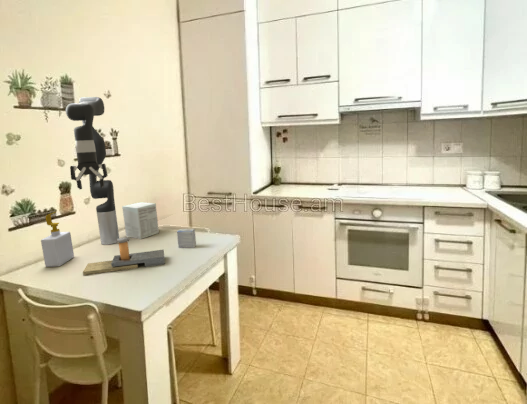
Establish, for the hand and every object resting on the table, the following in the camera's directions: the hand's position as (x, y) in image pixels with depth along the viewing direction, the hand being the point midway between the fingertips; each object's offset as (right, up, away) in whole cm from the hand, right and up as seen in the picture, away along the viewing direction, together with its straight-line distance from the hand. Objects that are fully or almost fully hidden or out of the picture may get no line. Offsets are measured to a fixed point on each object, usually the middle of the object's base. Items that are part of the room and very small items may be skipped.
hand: (91, 188), depth 152 cm
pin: (+16, -34, -3) cm, 37 cm away
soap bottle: (-17, -34, +6) cm, 38 cm away
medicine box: (+38, -28, +19) cm, 51 cm away
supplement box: (+7, -25, +45) cm, 52 cm away
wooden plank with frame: (+17, -34, -3) cm, 38 cm away
